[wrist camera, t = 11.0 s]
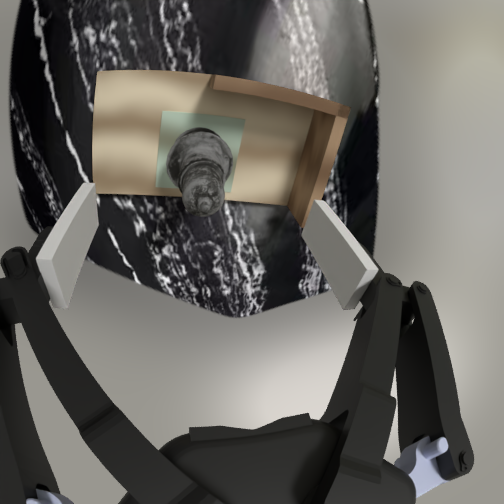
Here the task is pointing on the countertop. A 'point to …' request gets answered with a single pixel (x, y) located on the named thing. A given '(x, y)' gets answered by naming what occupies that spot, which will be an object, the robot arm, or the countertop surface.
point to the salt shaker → (200, 169)
